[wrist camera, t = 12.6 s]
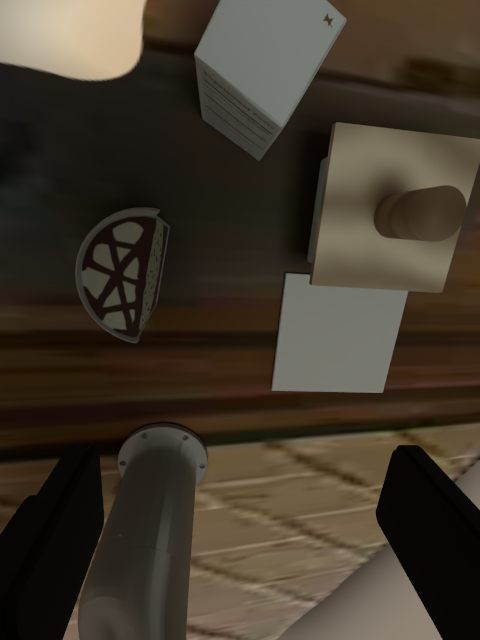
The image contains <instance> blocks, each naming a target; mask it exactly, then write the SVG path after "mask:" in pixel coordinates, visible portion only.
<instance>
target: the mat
mask: <svg viewBox="0 0 480 640" xmlns="http://www.w3.org/2000/svg"><path fill="white" fill-rule="evenodd" d="M309 280H310V274H297V273H285V279H284V287H283V296H282V304H281V312H280V320H279V328H278V337H277V345H276V353H275V361H274V370H273V378H272V386H271V389H272V391H321V392H371V393H383V389H384V385H385V381H386V377H387V373H388V369H389V365H390V361H391V357H392V353H393V349H394V346H395V342H396V338H397V334H398V330H399V326H400V322H401V318H402V314H403V310H404V306H405V302H406V298H407V294H408V291H401V290H384V289H367V288H350V287H333V286H316V285H310V284H309Z"/></svg>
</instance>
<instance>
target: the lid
mask: <svg viewBox="0 0 480 640" xmlns="http://www.w3.org/2000/svg"><path fill="white" fill-rule="evenodd" d="M479 162H480V139H473V138H464V137H456V136H448V135H439V134H431V133H423V132H414V131H406V130H398V129H389V128H381V127H373V126H365V125H356V124H348V123H340V122H335V123H334V124H333V125H332V131H331V138H330V145H329V151H328V158H327V165H326V172H325V178H324V185H323V192H322V199H321V206H320V212H319V219H318V226H317V233H316V239H315V246H314V253H313V260H312V267H311V273H310V280H309V284H310V285H316V286H333V287H350V288H367V289H384V290H401V291H418V292H435V293H442V291H443V287H444V284H445V280H446V277H447V273H448V270H449V266H450V263H451V259H452V256H453V253H454V249H455V246H456V242H457V239H458V235H459V232H460V228H461V225H462V223H463V221H464V218H465V215H466V207H467V204H468V200H469V197H470V194H471V190H472V187H473V183H474V180H475V176H476V173H477V169H478V166H479Z"/></svg>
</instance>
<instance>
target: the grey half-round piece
mask: <svg viewBox="0 0 480 640" xmlns="http://www.w3.org/2000/svg"><path fill="white" fill-rule="evenodd" d="M159 212H160V209H155V208H145V207H137V208H131V209H125V210H122V211H119V212H116V213H114V214H112V215H110V216H109V217H107V218H105V219H104V220H103V221H101V222H100V223H99V224H98V225H96V226H95V227H94V228H93V229H92V230H91V231H90V232H89V234H88V235H87V236H86V238H85V239H84V241H83V243H82V244H81V247H80V249H79V252H78V255H77V260H76V266H75V278H76V284H77V290H78V293H79V296H80V299H81V301H82V303H83V305H84V307H85V309H86V310H87V311H88V313H89V314H90V316H91V317H92V318H93V319H94V320H95V321H96V322H97V323H98V324H99V325H100V326H101V327H102V328H104V329H105V330H106V331H107V332H109V333H111V334H112V335H114V336H116V337H118V338H120V339H123V340H125V341H129V342H132V343H137V342H138V341H139V340H140V339H139V336H140V334H141V332H142V330H143V329H144V327H145V325H146V323H147V321H148V320H149V318H150V316H151V314H152V312H153V311H154V309H155V307H156V305H157V300H158V295H159V289H160V283H161V277H162V271H163V265H164V260H165V254H166V248H167V242H168V236H169V230H170V226H169V225H168V224H167V223H165V222H164V221H163V220H162V219H161V218H159V217H158V216H157V214H158V213H159Z"/></svg>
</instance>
